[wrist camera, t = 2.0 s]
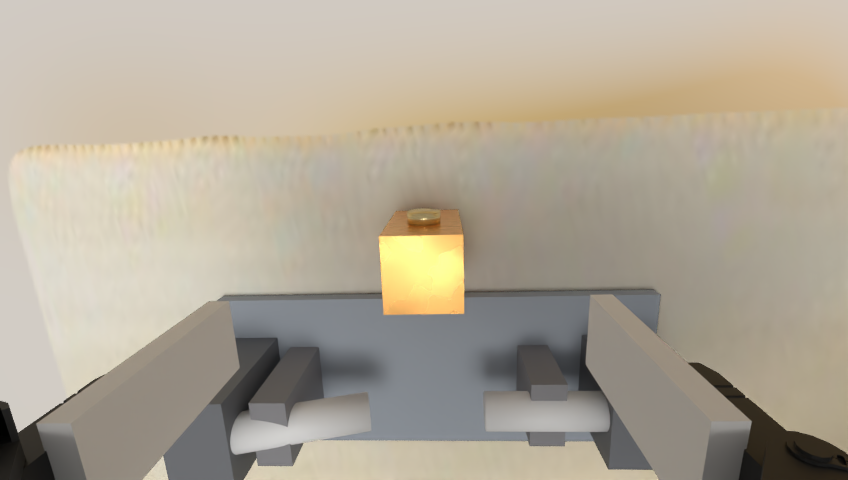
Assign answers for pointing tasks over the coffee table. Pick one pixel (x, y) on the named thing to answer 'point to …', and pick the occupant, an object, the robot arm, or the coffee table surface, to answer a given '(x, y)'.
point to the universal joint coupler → (422, 263)
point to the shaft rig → (406, 378)
